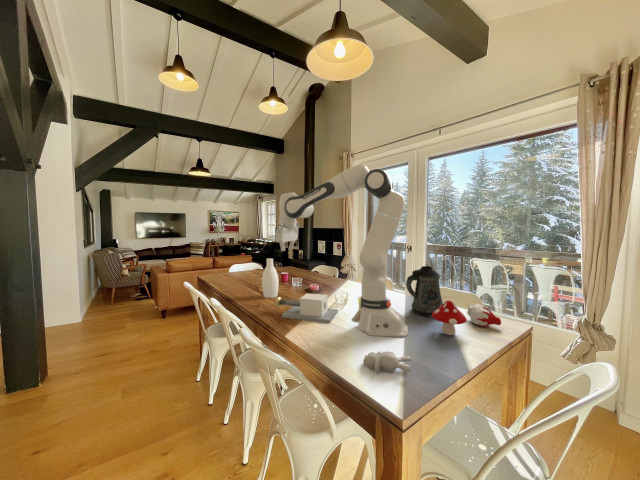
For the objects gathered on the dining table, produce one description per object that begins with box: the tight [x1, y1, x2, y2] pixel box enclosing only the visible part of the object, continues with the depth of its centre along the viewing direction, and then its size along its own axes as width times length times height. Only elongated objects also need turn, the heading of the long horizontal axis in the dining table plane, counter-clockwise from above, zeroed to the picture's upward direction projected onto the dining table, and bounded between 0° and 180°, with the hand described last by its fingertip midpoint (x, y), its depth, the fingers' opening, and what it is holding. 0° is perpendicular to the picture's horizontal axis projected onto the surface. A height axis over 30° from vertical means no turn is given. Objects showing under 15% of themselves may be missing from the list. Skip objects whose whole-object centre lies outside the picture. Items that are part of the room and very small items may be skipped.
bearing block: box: [281, 292, 339, 324], centre depth 136 cm, size 26×16×10 cm, turn 72°
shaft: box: [274, 296, 300, 308], centre depth 139 cm, size 18×5×5 cm, turn 72°
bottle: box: [261, 258, 279, 299], centre depth 171 cm, size 11×11×25 cm
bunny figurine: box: [362, 350, 412, 373], centre depth 85 cm, size 10×5×15 cm
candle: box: [466, 303, 502, 328], centre depth 120 cm, size 9×11×15 cm
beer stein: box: [405, 265, 444, 318], centre depth 137 cm, size 16×19×25 cm
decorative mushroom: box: [431, 300, 468, 336], centre depth 110 cm, size 14×14×15 cm
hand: (287, 249), depth 134 cm, fingers open, 8 cm apart
